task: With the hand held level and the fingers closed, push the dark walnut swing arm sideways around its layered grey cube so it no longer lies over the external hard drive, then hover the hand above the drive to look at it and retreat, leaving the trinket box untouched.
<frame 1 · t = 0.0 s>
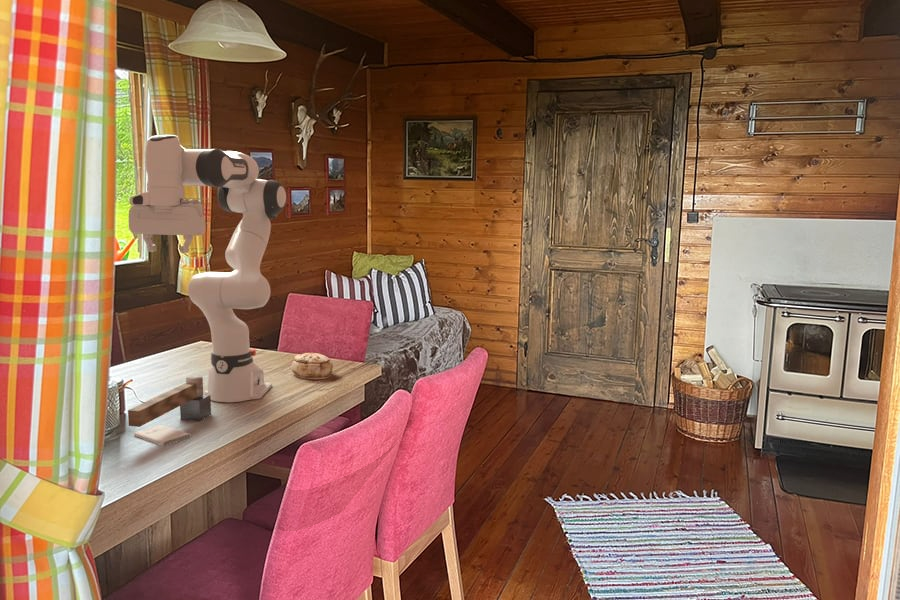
hand: (168, 252, 188), 48 cm above the table, tool pointing down, fingers open, 8 cm apart
external hard drive: (162, 439, 190), on the table
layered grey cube: (196, 417, 205), on the table
trinket box: (312, 376, 252), on the table
walnut swing arm: (168, 399, 191), point 9 cm above the table, hinge at 0.0°
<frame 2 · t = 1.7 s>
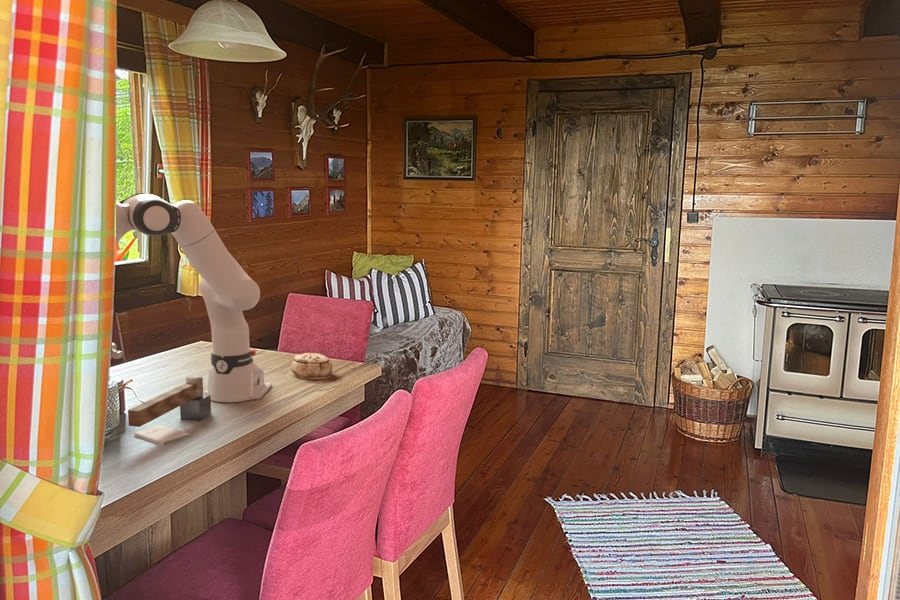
hand: (109, 358, 187), 21 cm above the table, tool horizontal, fingers open, 8 cm apart
nothing on the table moved.
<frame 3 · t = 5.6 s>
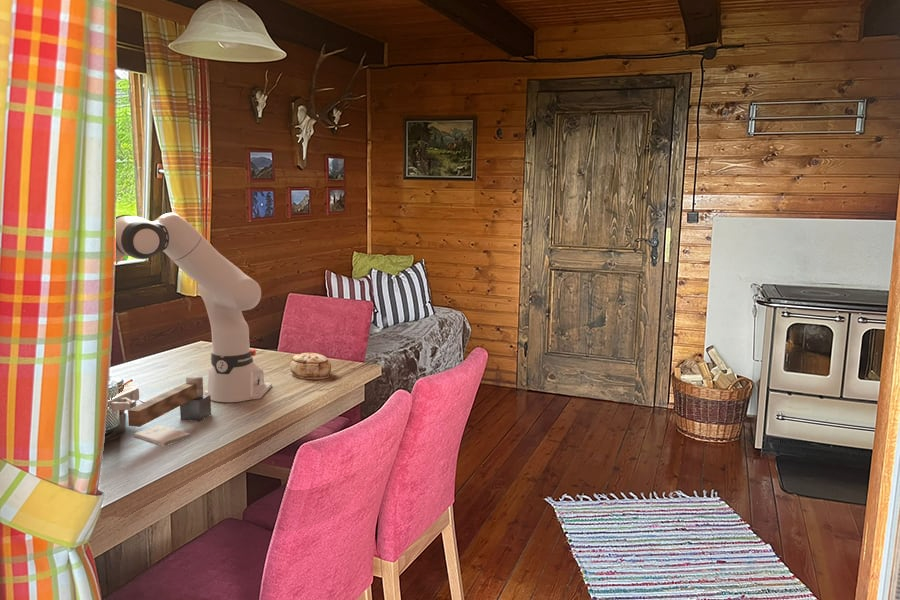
hand: (132, 405, 188), 8 cm above the table, tool horizontal, fingers closed
nothing on the table moved.
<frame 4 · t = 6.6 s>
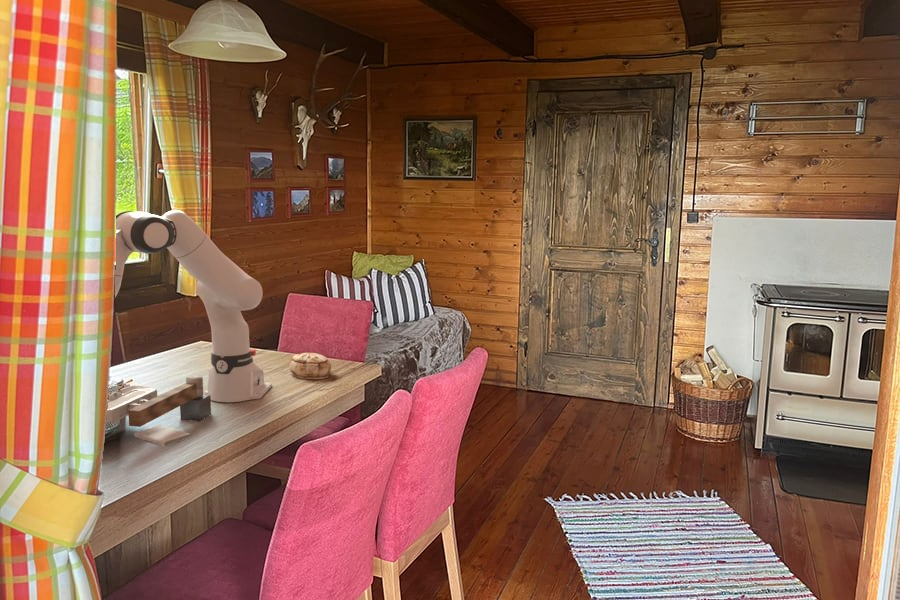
hand: (152, 406, 187), 8 cm above the table, tool horizontal, fingers closed, pressing on walnut swing arm
walnut swing arm: (168, 399, 191), point 9 cm above the table, hinge at 0.2°, touching gripper
everything else where it was.
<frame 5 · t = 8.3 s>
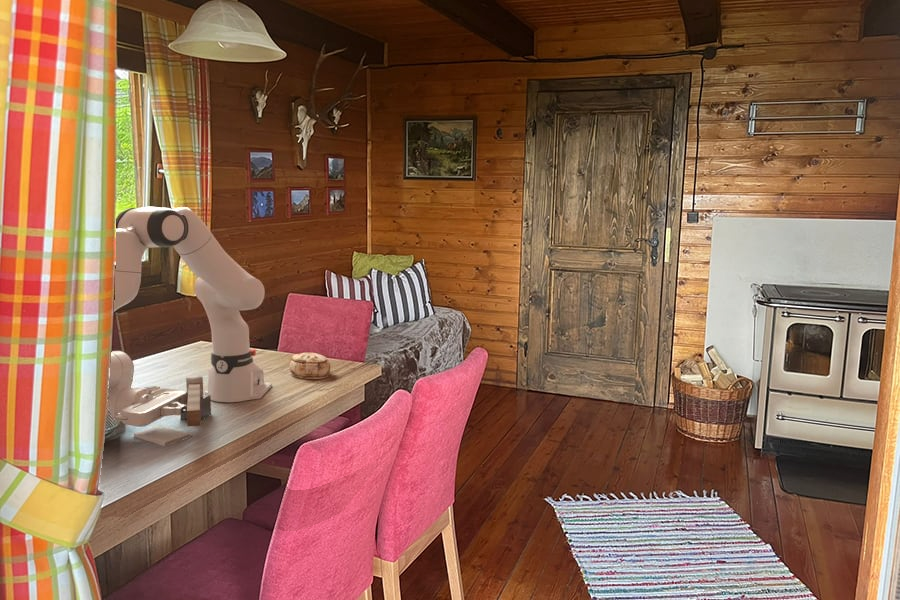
hand: (184, 410, 185), 8 cm above the table, tool horizontal, fingers closed
walnut swing arm: (194, 399, 192), point 9 cm above the table, hinge at 30.4°, touching gripper
everything else where it was.
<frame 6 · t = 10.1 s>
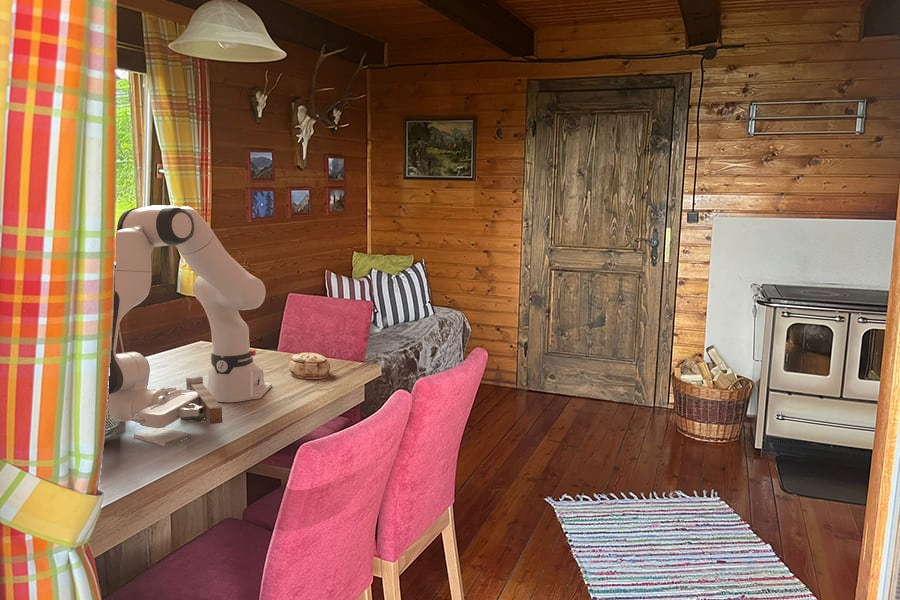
hand: (201, 411, 184), 8 cm above the table, tool horizontal, fingers closed
walnut swing arm: (203, 398, 193), point 9 cm above the table, hinge at 41.6°, touching gripper
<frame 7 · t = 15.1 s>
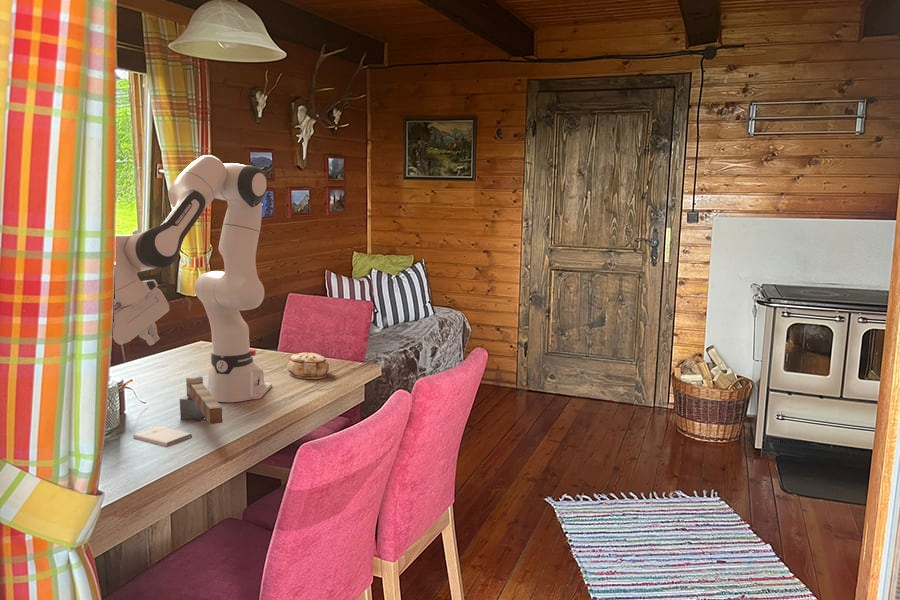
hand: (154, 342, 187), 25 cm above the table, tool tilted 25°, fingers closed
walnut swing arm: (203, 398, 193), point 9 cm above the table, hinge at 41.6°
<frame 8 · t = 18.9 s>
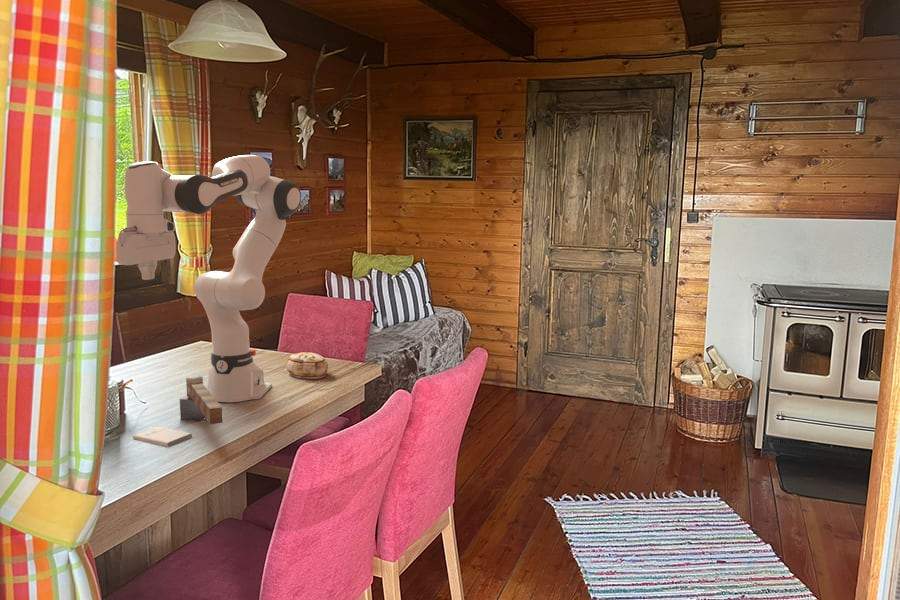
hand: (148, 279, 187), 41 cm above the table, tool pointing down, fingers closed
at the end: walnut swing arm at +42° (first picture: +0°); external hard drive moved 1.3 cm from its start; trinket box moved 1.9 cm from its start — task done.
